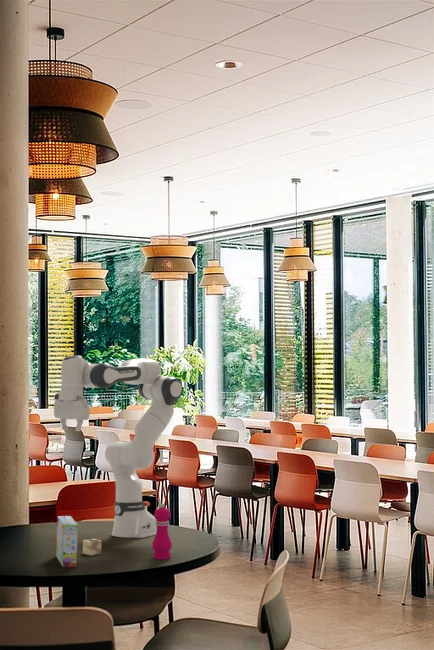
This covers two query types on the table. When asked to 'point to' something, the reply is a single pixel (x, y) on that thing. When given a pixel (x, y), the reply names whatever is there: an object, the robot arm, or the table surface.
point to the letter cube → (92, 547)
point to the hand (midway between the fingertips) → (71, 430)
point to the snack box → (67, 541)
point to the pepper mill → (162, 534)
